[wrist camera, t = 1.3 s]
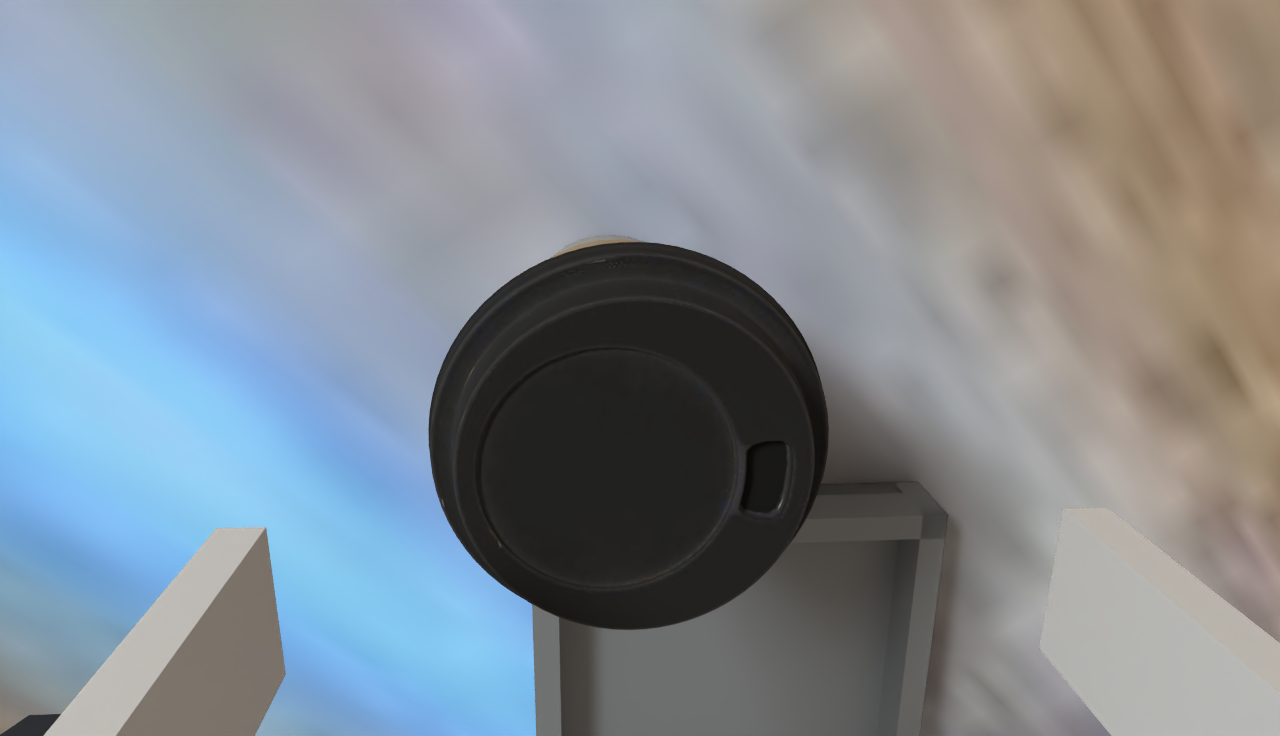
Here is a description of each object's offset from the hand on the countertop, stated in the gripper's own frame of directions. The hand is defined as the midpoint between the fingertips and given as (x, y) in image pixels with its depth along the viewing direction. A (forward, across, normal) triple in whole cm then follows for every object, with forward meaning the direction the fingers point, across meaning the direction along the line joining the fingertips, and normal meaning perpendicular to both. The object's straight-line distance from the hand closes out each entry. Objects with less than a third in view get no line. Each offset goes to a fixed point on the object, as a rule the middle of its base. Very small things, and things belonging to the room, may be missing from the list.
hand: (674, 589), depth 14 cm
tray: (+20, +4, -15) cm, 25 cm away
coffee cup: (+20, 0, 0) cm, 20 cm away
